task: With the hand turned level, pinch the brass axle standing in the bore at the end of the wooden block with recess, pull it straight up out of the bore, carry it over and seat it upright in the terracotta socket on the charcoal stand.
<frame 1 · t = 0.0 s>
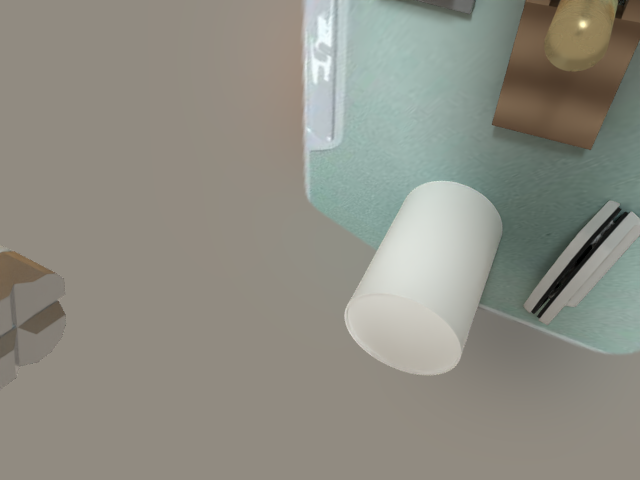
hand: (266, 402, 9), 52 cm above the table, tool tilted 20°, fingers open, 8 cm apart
white slotted casing: (583, 247, 68), on the table
canister: (450, 221, 74), on the table
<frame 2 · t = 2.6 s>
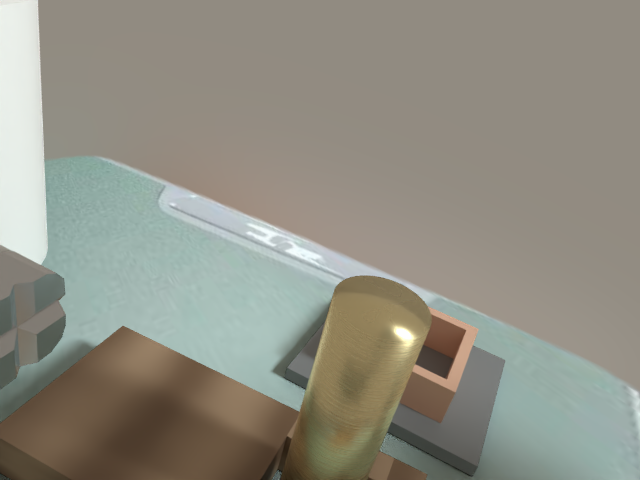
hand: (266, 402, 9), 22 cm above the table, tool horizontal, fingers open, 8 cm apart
stand: (400, 373, 43), on the table
axle: (336, 439, 26), in the wooden block with recess
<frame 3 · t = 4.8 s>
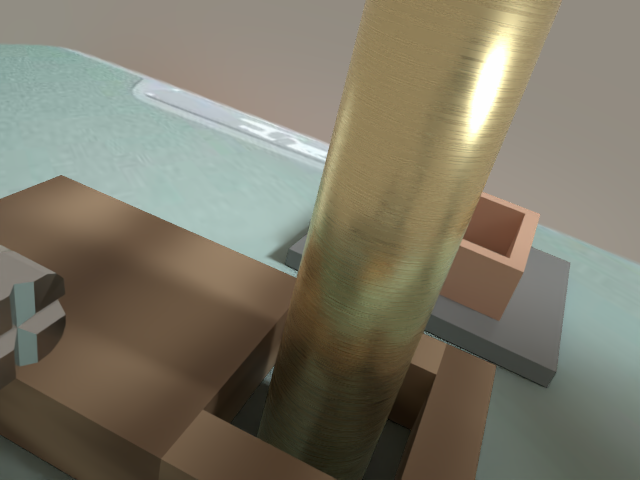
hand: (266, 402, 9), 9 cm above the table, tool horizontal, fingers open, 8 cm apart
stand: (437, 270, 32), on the table
axle: (372, 266, 16), in the wooden block with recess
wooden block with recess: (311, 449, 20), on the table
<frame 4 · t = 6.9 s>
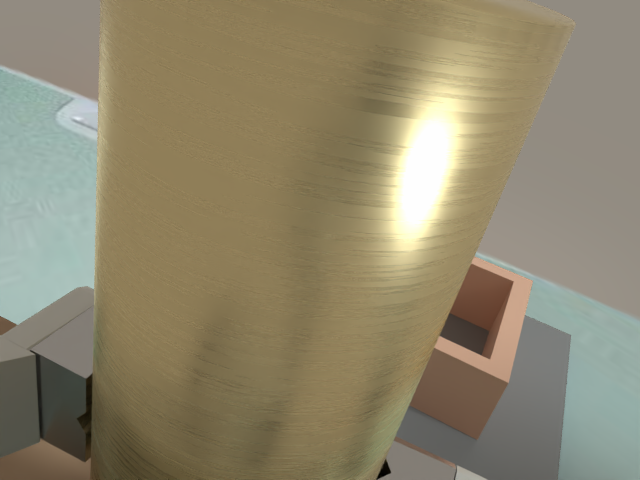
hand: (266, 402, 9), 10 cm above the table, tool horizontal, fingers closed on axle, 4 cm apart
stand: (402, 353, 26), on the table
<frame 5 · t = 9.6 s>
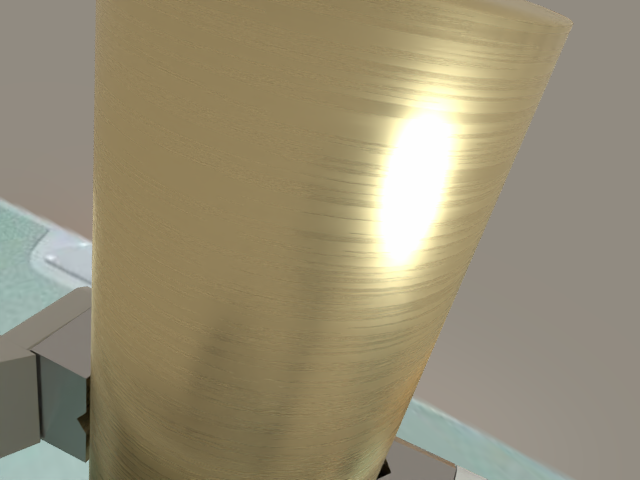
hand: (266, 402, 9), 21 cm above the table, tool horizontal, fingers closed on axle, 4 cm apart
when the fingers open (12 cm above the table, at t = 12.6 s): axle drops 1 cm, resting on stand.
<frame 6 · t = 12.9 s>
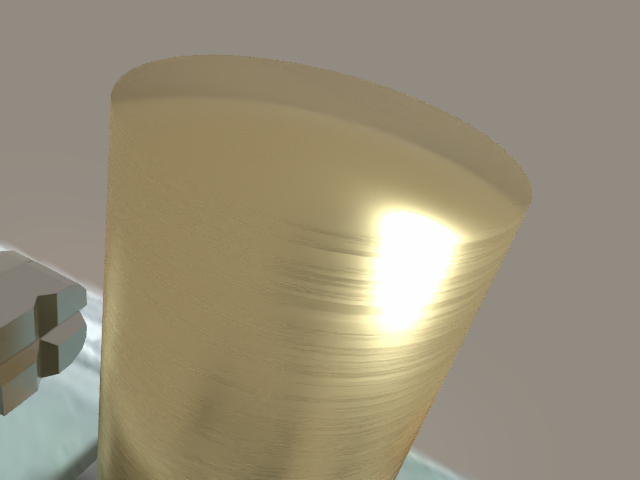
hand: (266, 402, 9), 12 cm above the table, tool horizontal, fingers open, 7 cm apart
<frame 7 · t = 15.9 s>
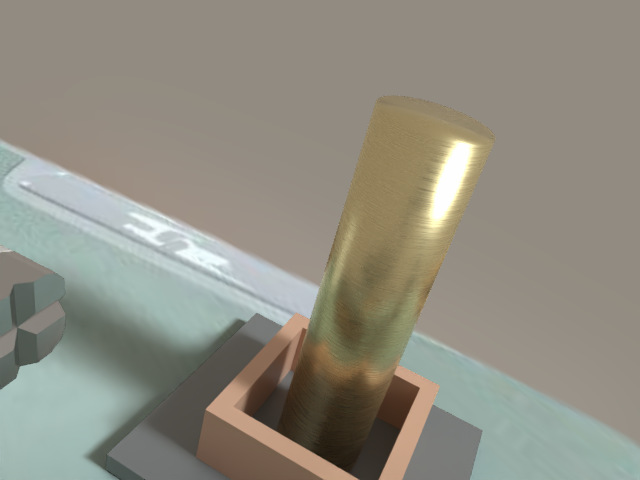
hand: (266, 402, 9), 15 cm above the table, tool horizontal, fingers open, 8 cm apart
stand: (312, 454, 26), on the table
axle: (365, 309, 22), in the stand, point 9 cm above the table
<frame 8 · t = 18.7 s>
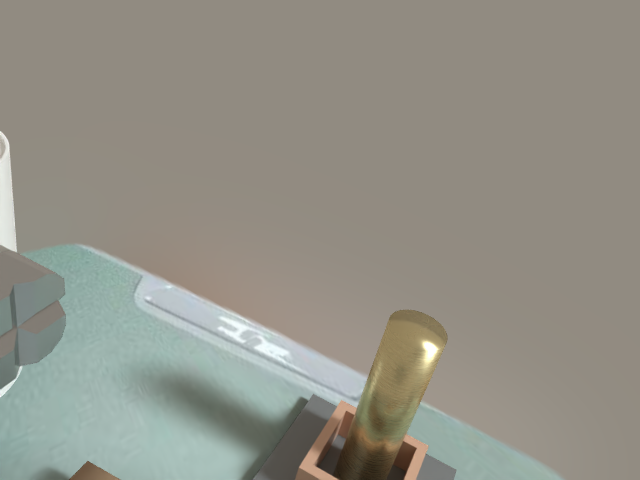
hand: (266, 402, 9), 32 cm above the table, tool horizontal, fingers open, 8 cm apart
axle: (384, 412, 41), in the stand, point 9 cm above the table
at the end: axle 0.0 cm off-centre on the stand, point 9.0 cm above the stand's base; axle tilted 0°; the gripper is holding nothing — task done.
